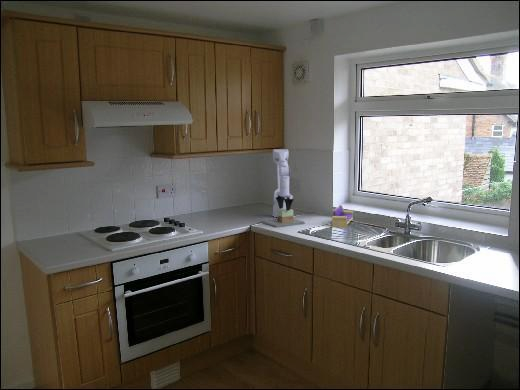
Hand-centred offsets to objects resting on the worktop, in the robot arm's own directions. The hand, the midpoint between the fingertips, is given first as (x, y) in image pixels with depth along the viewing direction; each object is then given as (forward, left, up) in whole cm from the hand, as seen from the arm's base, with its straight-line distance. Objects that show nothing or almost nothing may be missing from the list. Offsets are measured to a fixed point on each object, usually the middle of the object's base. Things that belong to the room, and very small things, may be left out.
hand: (284, 209), depth 273 cm
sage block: (0, 0, -4) cm, 4 cm away
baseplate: (-1, -1, -9) cm, 9 cm away
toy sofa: (+22, +27, -9) cm, 36 cm away
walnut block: (0, 0, -7) cm, 7 cm away
